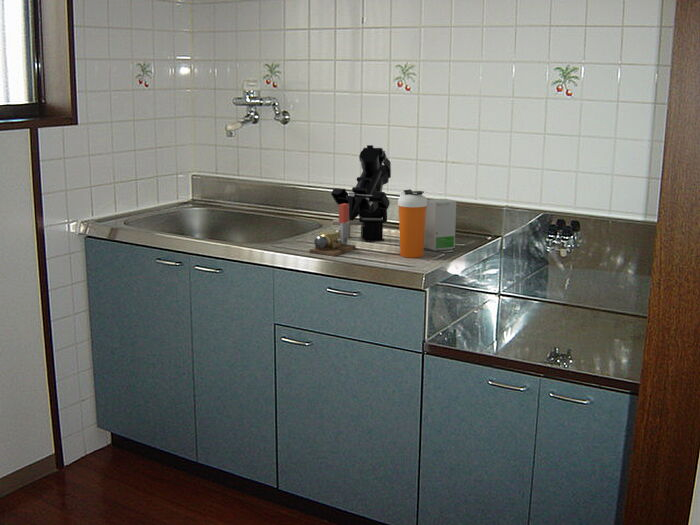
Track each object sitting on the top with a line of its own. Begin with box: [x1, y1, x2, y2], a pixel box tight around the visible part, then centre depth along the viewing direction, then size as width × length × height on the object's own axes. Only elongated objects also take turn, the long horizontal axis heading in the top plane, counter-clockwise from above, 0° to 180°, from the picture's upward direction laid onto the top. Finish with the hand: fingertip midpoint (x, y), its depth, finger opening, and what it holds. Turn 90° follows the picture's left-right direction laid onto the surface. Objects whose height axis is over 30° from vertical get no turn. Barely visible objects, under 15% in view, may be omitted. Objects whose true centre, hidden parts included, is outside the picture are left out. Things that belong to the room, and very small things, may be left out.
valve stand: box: [308, 229, 356, 257], centre depth 264 cm, size 13×9×6 cm
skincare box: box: [424, 198, 457, 251], centre depth 267 cm, size 8×7×16 cm
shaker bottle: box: [397, 188, 427, 259], centre depth 256 cm, size 9×9×20 cm
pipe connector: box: [332, 207, 362, 239], centre depth 284 cm, size 10×10×10 cm
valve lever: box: [338, 203, 349, 246], centre depth 261 cm, size 3×2×13 cm, turn 150°
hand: (350, 219), depth 263 cm, fingers closed
